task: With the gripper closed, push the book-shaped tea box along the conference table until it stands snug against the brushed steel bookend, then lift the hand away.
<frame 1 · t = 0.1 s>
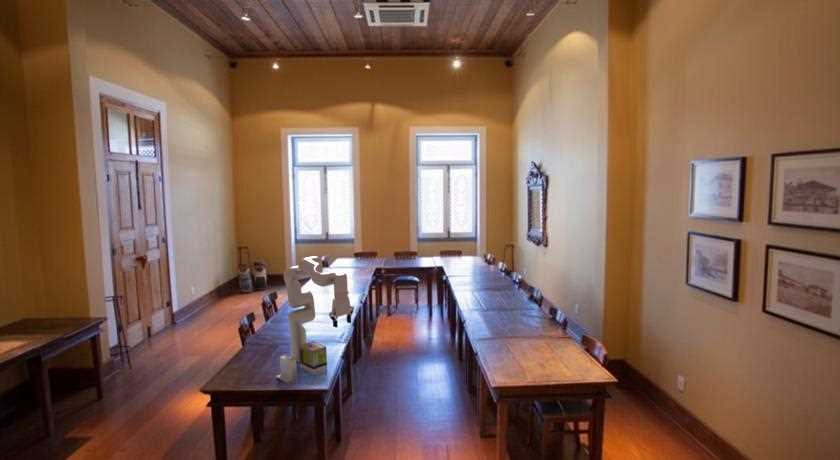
hand: (342, 324, 259), 31 cm above the table, tool pointing down, fingers open, 9 cm apart
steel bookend: (289, 378, 263), on the table
tea box: (313, 369, 276), on the table
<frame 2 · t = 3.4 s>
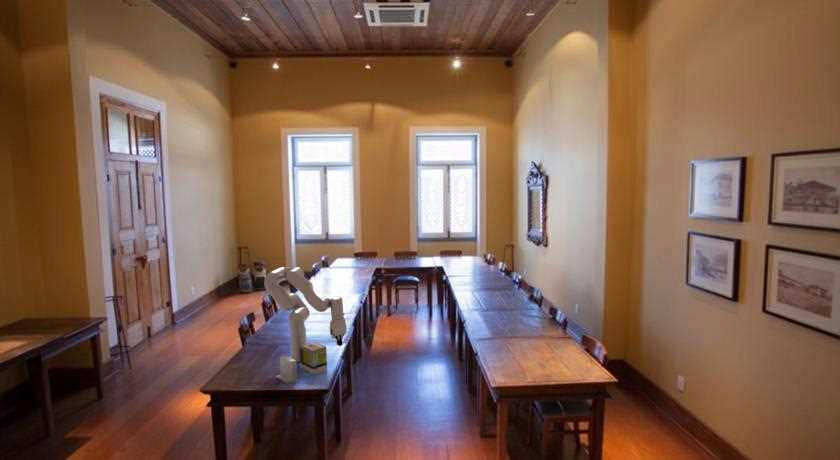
hand: (339, 345, 289), 9 cm above the table, tool pointing down, fingers closed
nothing on the table moved.
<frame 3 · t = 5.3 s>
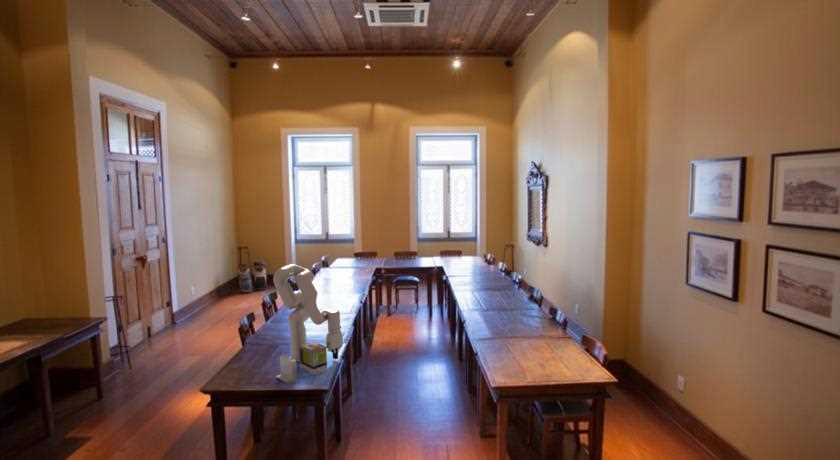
hand: (335, 358, 288), 1 cm above the table, tool pointing down, fingers closed
nothing on the table moved.
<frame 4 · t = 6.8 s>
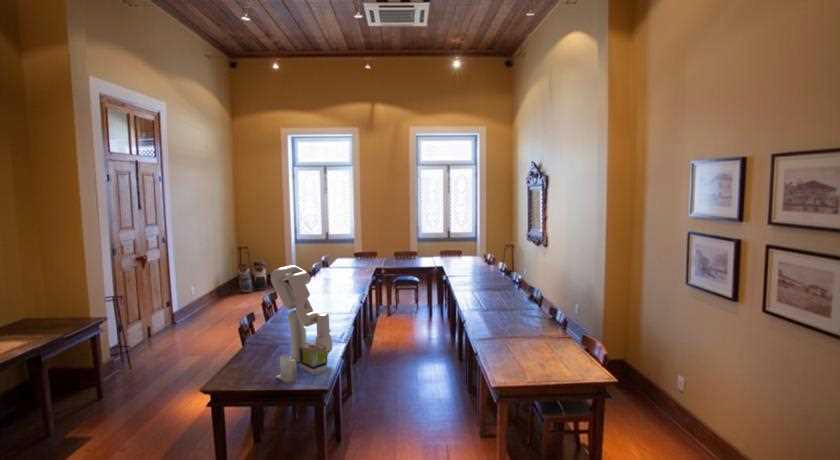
hand: (324, 362, 282), 1 cm above the table, tool pointing down, fingers closed
tea box: (313, 369, 276), on the table, touching gripper
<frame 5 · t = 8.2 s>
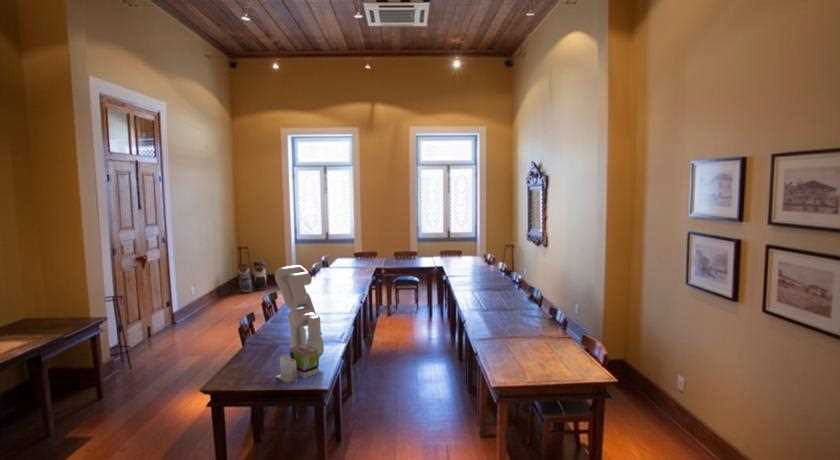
hand: (316, 365, 277), 2 cm above the table, tool pointing down, fingers closed
tea box: (304, 373, 271), on the table
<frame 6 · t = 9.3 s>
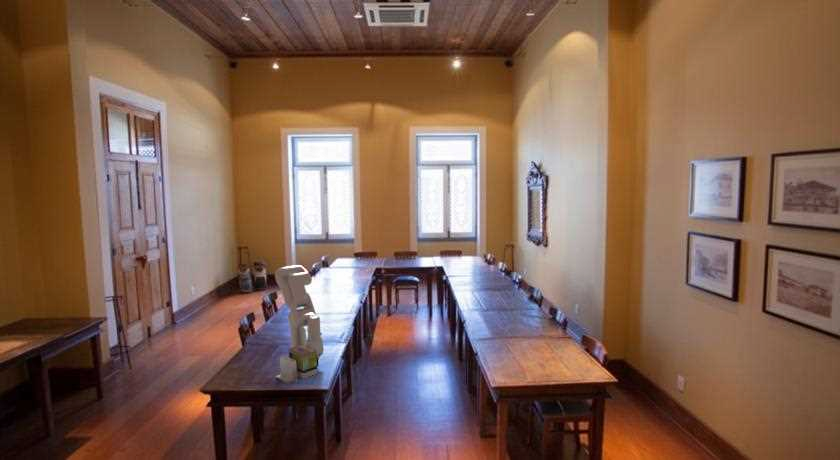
hand: (315, 365, 277), 1 cm above the table, tool pointing down, fingers closed
nothing on the table moved.
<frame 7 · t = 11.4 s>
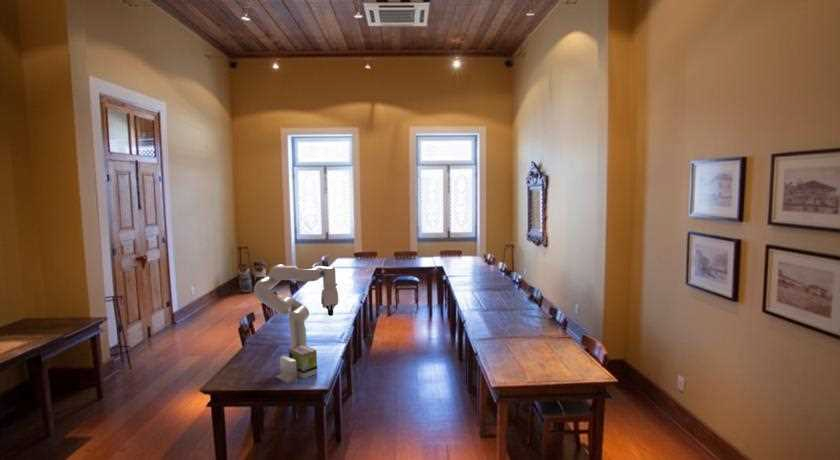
hand: (330, 315, 288), 28 cm above the table, tool pointing down, fingers closed
nothing on the table moved.
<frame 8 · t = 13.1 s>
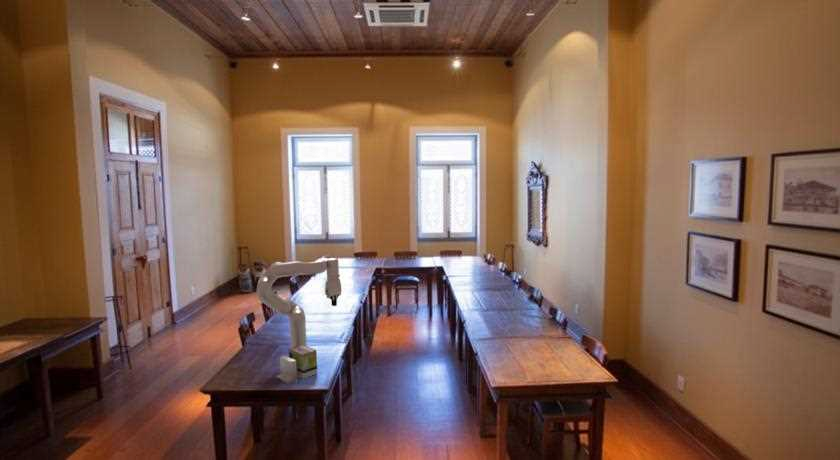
hand: (334, 305, 296), 32 cm above the table, tool pointing down, fingers closed
nothing on the table moved.
at the end: tea box inside the target area (0.7 cm from its centre), on the table; tea box tilted 0°; tea box moved 7.3 cm from its start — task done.
